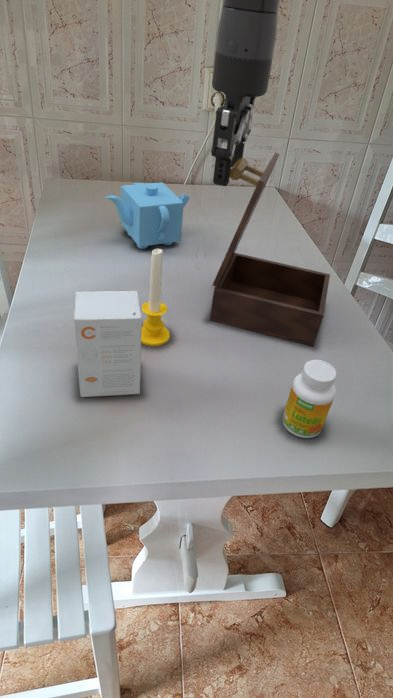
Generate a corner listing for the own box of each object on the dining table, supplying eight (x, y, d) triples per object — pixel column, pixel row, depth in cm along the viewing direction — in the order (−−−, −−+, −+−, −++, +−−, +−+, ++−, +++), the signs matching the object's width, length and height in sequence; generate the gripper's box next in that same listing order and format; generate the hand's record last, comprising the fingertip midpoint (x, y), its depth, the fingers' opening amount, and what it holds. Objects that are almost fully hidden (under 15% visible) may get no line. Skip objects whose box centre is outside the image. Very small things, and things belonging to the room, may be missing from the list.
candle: (139, 347, 75) (142, 257, 65) (133, 327, 78) (135, 239, 69) (172, 344, 76) (180, 255, 66) (165, 324, 80) (171, 237, 70)
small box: (136, 364, 72) (138, 289, 63) (140, 395, 67) (142, 318, 59) (80, 366, 70) (74, 290, 62) (79, 398, 65) (73, 319, 57)
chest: (320, 304, 89) (330, 274, 85) (313, 347, 79) (323, 315, 75) (228, 282, 92) (233, 252, 88) (209, 320, 82) (213, 289, 78)
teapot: (201, 249, 101) (207, 197, 94) (118, 262, 94) (118, 206, 87) (170, 217, 112) (174, 168, 105) (93, 226, 105) (91, 174, 98)
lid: (279, 154, 76) (248, 139, 76) (264, 182, 66) (228, 165, 66) (235, 250, 88) (208, 238, 88) (216, 287, 78) (185, 273, 78)
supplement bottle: (281, 435, 64) (298, 380, 58) (282, 406, 68) (298, 352, 62) (322, 442, 63) (343, 388, 57) (321, 413, 68) (340, 360, 61)
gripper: (262, 63, 57) (241, 196, 68) (281, 49, 68) (260, 166, 78) (201, 53, 59) (190, 186, 69) (229, 41, 69) (215, 157, 80)
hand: (227, 175), depth 74 cm, fingers open, 8 cm apart
